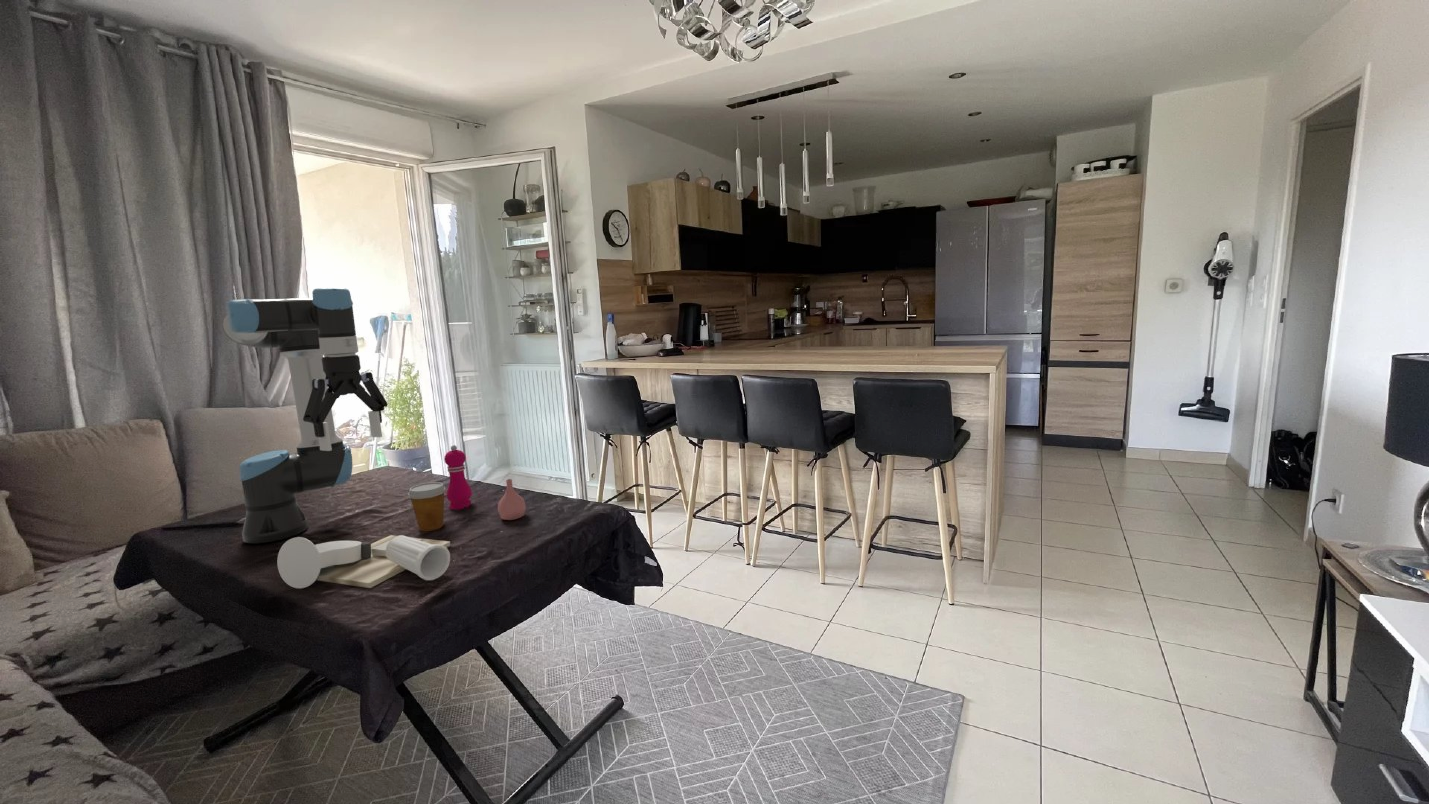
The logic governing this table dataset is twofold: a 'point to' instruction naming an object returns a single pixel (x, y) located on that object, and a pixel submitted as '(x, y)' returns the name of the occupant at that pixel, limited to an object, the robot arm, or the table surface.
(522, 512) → the pink bulbous piece
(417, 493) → the disposable coffee cup
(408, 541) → the cup
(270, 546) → the table surface
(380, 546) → the tile
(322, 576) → the board
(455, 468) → the pepper mill
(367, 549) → the panda figurine
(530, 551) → the table surface
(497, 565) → the table surface
